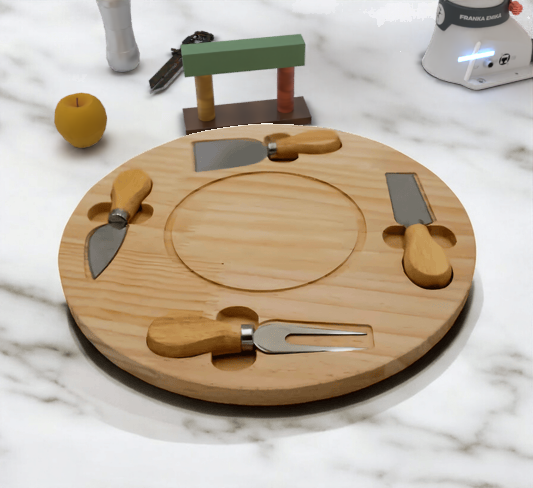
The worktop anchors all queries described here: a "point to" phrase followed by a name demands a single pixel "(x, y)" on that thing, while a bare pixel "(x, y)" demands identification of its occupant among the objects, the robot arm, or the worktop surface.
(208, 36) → the knife
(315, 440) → the worktop surface
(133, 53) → the plastic bottle
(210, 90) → the rods
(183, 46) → the bar
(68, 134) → the apple
